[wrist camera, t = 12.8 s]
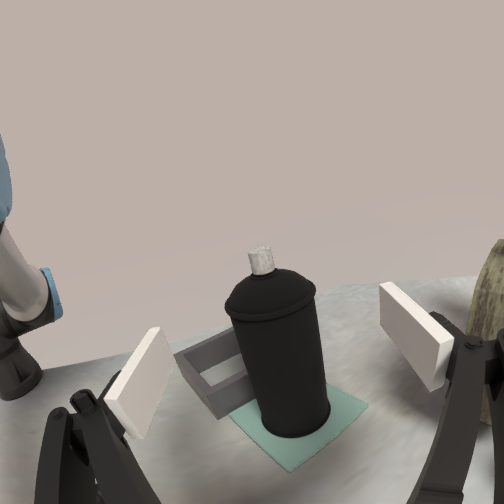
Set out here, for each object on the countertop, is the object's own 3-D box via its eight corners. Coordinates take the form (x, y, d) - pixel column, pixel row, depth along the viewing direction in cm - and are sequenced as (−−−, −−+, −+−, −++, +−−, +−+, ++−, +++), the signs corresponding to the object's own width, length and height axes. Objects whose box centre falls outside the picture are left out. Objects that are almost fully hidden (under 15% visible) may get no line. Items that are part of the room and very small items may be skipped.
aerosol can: (320, 443, 22) (290, 261, 18) (250, 432, 26) (191, 270, 22) (337, 391, 29) (316, 231, 25) (276, 387, 33) (239, 241, 29)
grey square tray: (183, 376, 41) (173, 354, 40) (247, 343, 47) (241, 322, 46) (217, 419, 30) (206, 396, 29) (295, 372, 36) (290, 348, 35)
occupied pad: (229, 416, 30) (228, 413, 30) (301, 372, 36) (300, 369, 36) (289, 473, 20) (288, 470, 20) (367, 406, 26) (368, 403, 26)
